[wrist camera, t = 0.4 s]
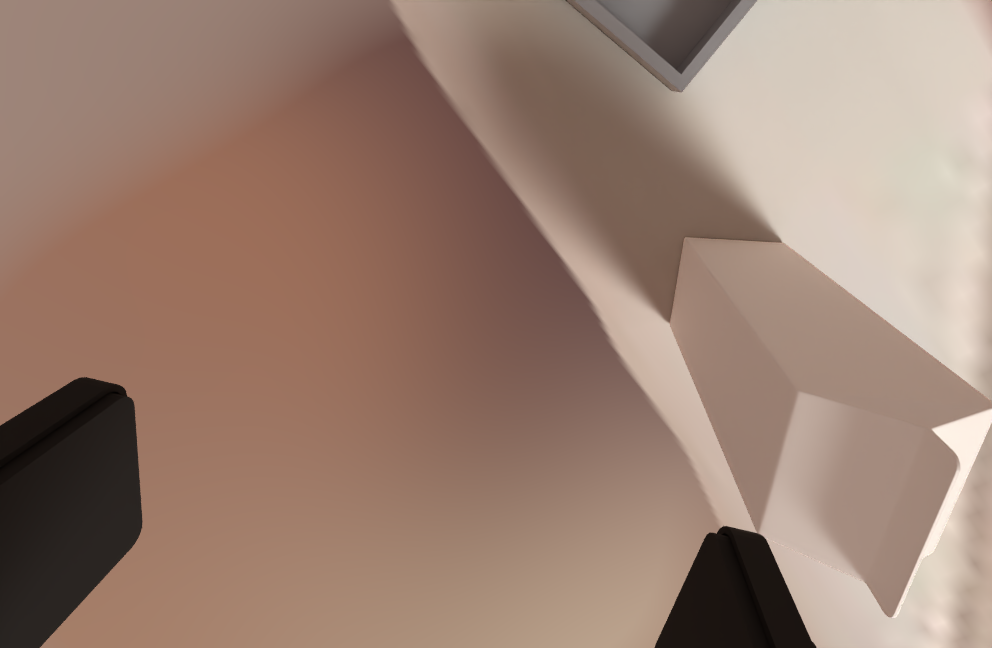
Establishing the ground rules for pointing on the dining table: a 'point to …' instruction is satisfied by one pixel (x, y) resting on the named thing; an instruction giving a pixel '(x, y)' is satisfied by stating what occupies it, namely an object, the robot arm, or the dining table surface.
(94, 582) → the robot arm
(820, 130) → the dining table surface
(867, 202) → the dining table surface
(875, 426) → the milk
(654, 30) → the tray
